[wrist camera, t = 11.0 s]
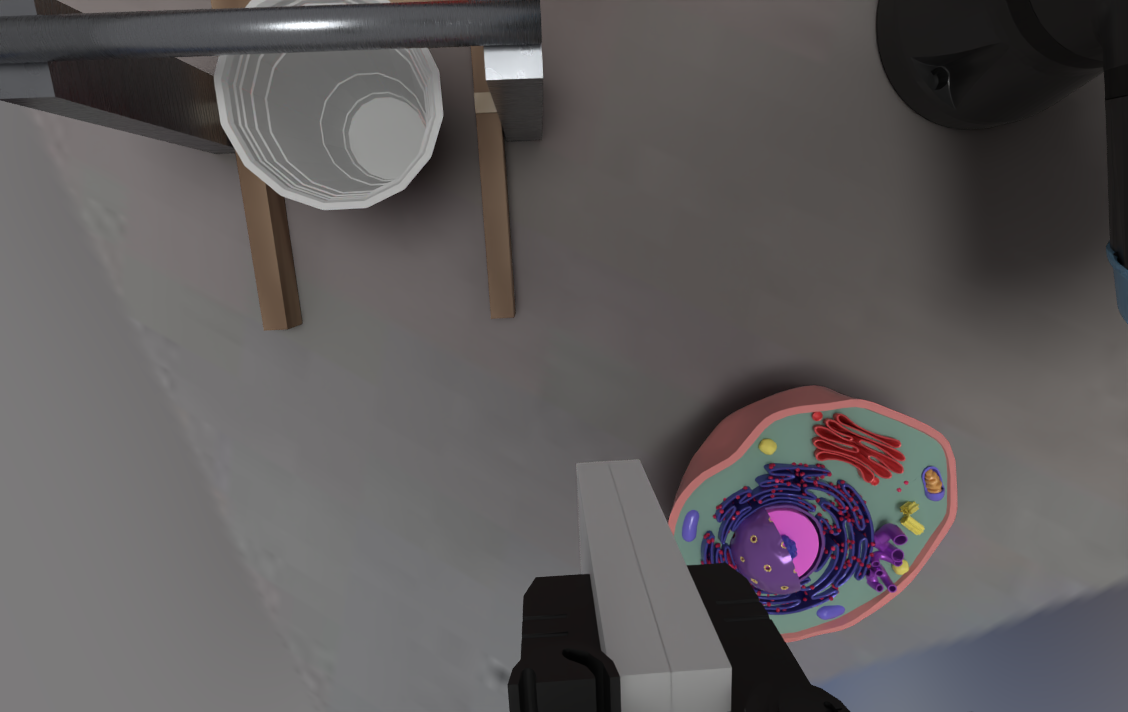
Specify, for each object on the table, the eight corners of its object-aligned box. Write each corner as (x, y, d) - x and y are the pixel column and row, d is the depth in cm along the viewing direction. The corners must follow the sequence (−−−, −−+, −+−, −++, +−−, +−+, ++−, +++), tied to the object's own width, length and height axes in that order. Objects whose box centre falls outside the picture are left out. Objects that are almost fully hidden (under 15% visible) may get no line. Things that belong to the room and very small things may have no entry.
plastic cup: (502, 153, 39) (486, 119, 28) (383, 249, 40) (320, 255, 29) (400, 15, 37) (336, -85, 26) (277, 119, 38) (163, 69, 27)
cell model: (911, 514, 47) (1026, 601, 36) (687, 602, 48) (731, 713, 37) (856, 329, 43) (964, 362, 32) (614, 427, 44) (639, 491, 33)
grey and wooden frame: (533, -14, 37) (528, -219, 20) (550, 310, 42) (557, 362, 25) (188, -2, 37) (-112, -205, 20) (244, 326, 41) (38, 390, 24)
